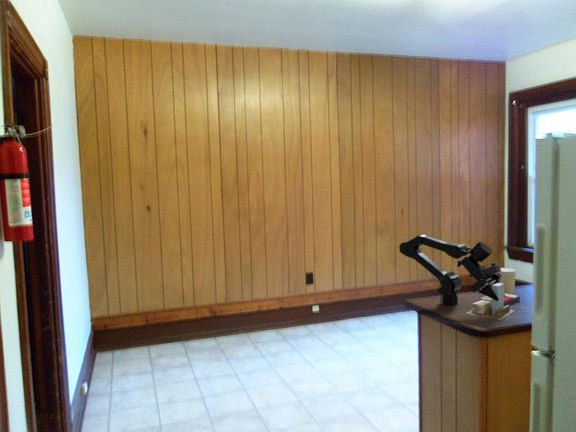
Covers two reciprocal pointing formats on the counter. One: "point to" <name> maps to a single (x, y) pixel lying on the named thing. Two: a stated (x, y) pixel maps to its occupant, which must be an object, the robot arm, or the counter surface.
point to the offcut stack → (481, 306)
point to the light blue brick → (499, 291)
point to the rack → (499, 314)
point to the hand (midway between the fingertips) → (501, 298)
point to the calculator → (505, 299)
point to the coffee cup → (508, 279)
